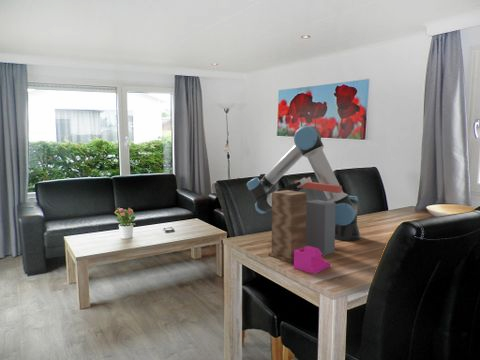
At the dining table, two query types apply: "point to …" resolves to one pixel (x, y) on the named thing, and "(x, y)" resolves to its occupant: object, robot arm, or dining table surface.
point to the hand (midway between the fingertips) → (308, 179)
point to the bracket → (309, 260)
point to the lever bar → (321, 187)
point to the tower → (288, 223)
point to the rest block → (320, 225)
